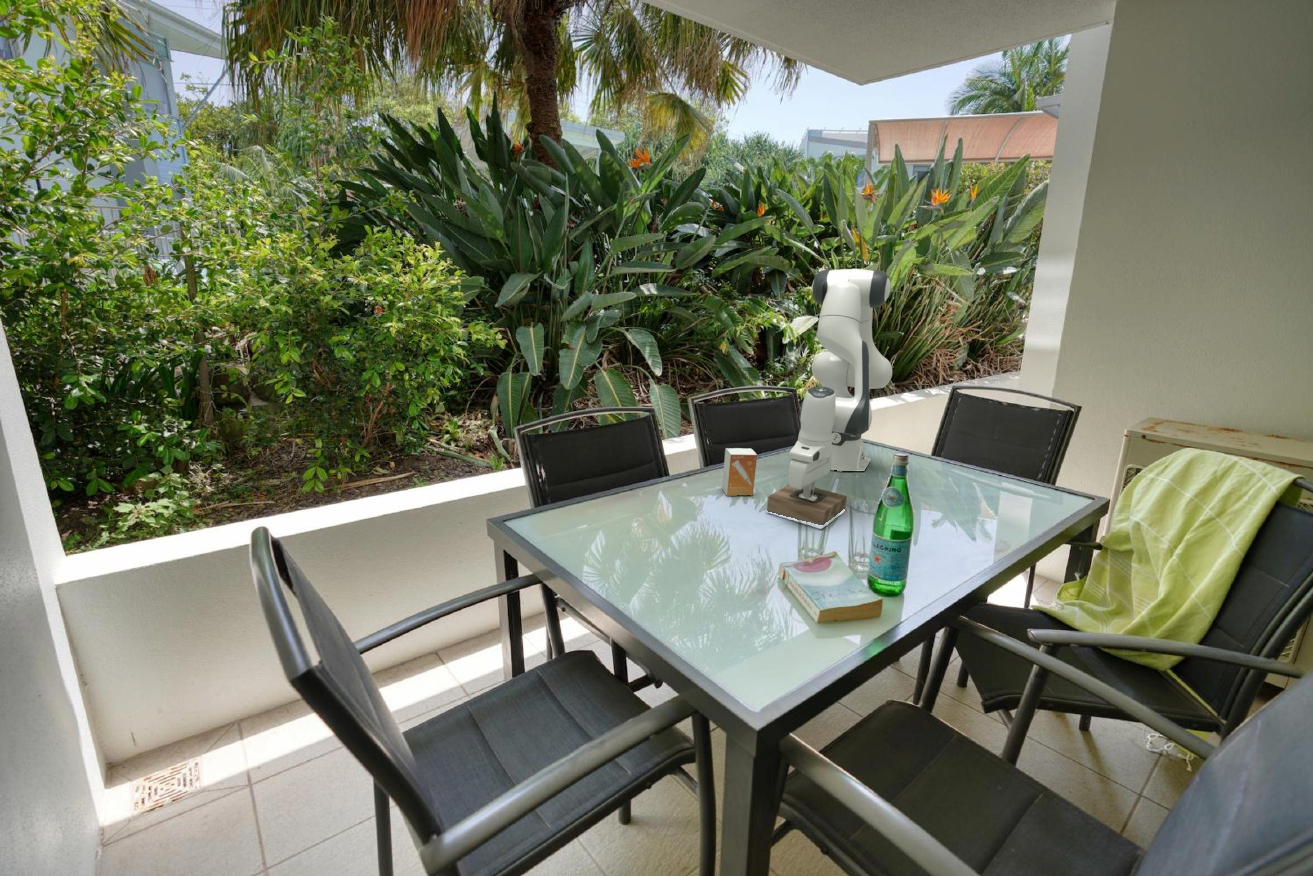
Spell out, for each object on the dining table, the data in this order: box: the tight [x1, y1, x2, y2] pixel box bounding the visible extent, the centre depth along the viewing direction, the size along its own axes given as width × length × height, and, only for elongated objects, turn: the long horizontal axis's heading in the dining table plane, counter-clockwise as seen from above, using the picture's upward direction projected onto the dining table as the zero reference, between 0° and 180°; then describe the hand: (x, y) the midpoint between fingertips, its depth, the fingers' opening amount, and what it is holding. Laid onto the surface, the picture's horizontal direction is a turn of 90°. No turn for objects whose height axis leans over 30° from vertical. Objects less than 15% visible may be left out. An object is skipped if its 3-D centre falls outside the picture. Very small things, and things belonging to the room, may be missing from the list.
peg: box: [799, 493, 817, 501], centre depth 170 cm, size 5×5×5 cm
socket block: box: [766, 484, 848, 525], centre depth 170 cm, size 16×16×5 cm
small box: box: [721, 447, 758, 497], centre depth 181 cm, size 8×6×13 cm
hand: (808, 496), depth 169 cm, fingers closed, pressing on peg
